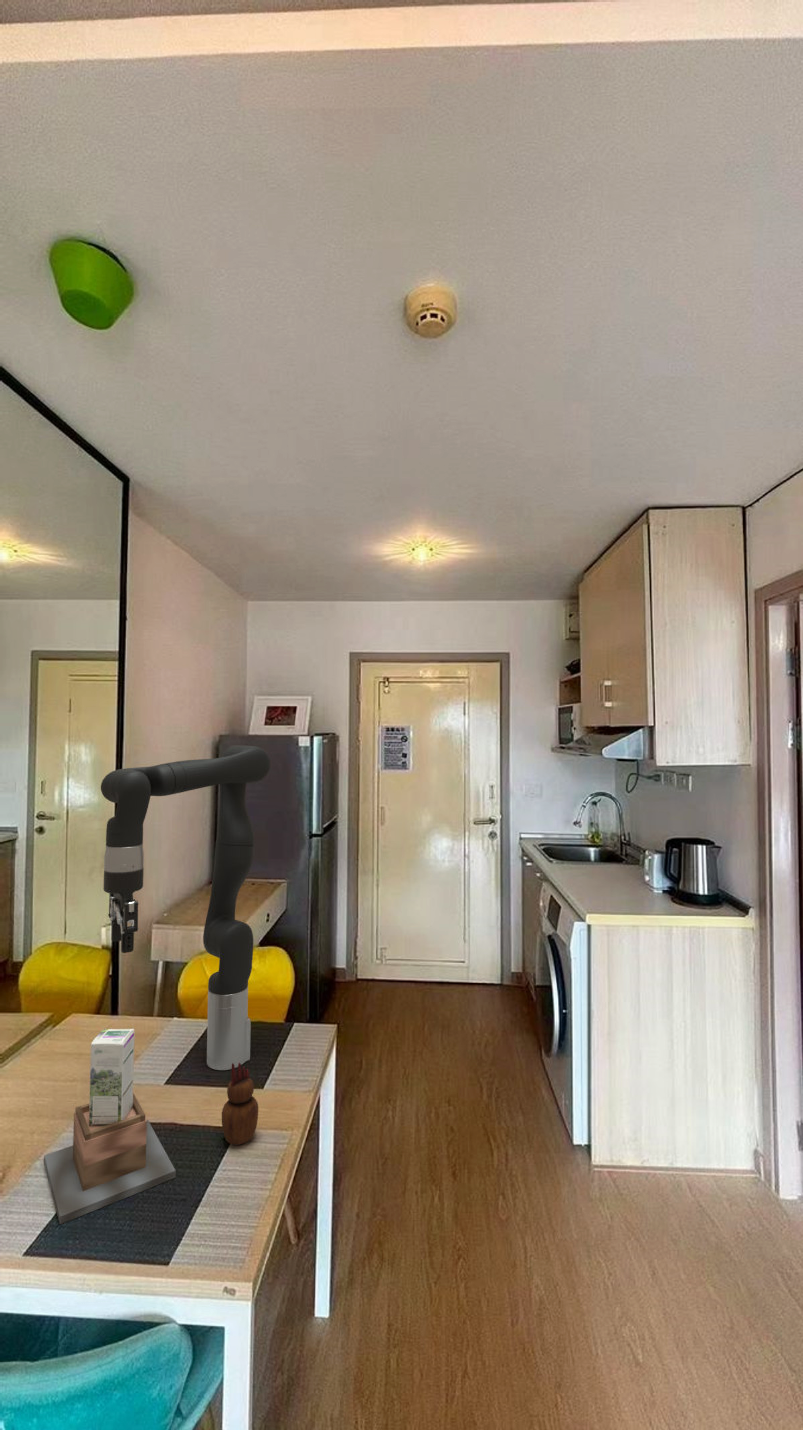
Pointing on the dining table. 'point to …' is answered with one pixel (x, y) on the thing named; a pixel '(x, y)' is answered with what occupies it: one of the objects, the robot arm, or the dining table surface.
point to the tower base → (105, 1191)
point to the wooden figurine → (240, 1108)
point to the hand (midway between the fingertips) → (122, 946)
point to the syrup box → (111, 1076)
